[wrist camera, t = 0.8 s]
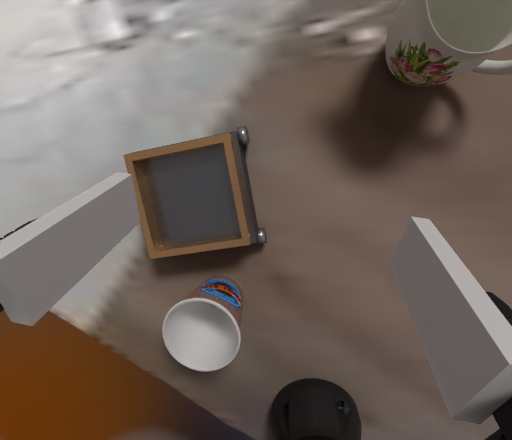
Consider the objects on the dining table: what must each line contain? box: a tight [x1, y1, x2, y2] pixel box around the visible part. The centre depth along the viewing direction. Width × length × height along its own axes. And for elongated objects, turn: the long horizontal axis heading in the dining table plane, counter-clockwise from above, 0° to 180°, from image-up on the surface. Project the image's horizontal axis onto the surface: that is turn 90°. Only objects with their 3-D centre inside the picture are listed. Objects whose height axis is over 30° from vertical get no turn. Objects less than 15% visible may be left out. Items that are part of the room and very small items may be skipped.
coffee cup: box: [162, 275, 243, 372], centre depth 39 cm, size 10×10×12 cm
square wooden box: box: [124, 126, 267, 259], centre depth 39 cm, size 17×17×6 cm
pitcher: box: [385, 0, 512, 86], centre depth 28 cm, size 11×18×14 cm, turn 65°
